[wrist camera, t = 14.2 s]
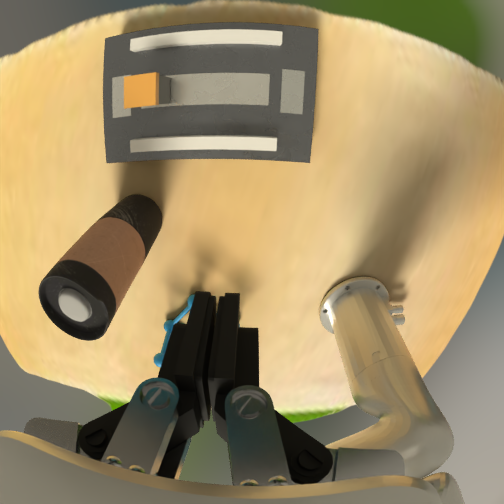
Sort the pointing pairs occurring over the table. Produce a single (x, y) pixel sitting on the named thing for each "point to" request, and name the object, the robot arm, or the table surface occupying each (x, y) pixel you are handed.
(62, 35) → the table surface
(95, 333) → the travel mug
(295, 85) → the switch panel
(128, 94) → the switch handle
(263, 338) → the table surface
